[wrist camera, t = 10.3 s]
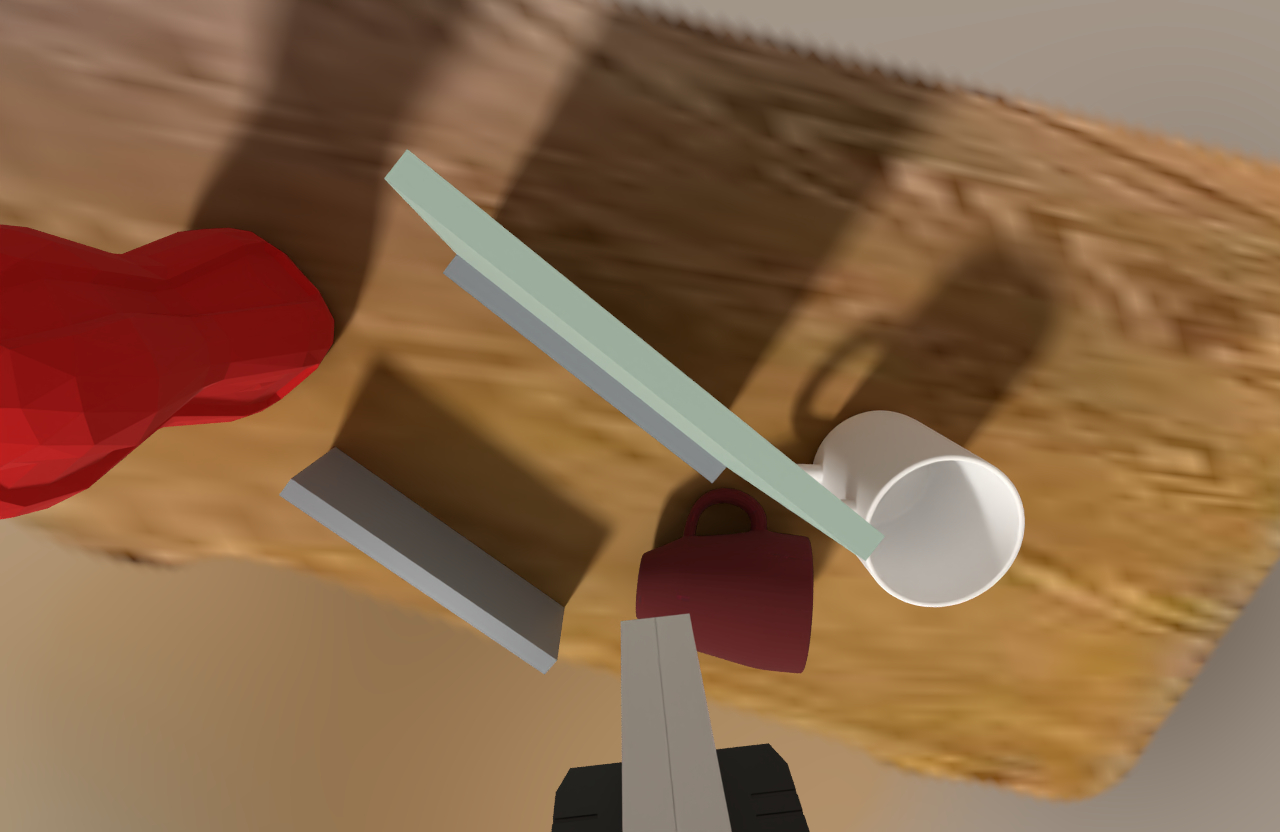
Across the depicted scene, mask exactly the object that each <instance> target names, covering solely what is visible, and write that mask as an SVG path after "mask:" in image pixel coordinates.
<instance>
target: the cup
mask: <svg viewBox="0 0 1280 832" xmlns="http://www.w3.org/2000/svg"><path fill="white" fill-rule="evenodd" d="M797 465H798V466H799V467H800V468H801V469H803V470H804V471H805V472H806V473H808V474H809V475H810V476H811V477H813V478H814V479H815V480H816V481H818V482H819V483H820V484H821V485H822V486H824V487H825V488H826V489H827V490H829V491H830V492H831V493H832V494H834V495H835V496H836V497H837V498H839V499H840V500H841V501H842V502H843V503H845V504H846V505H847V506H848V507H850V508H851V509H852V510H853V511H855V512H856V513H857V514H858V515H860V516H861V517H862V518H863V519H864V520H866V521H867V522H868V523H869V524H871V525H872V526H873V527H874V528H876V529H877V530H878V531H879V532H880V533H882V534H883V535H884V536H885V537H884V538H883V540H882V541H881V542H880V543H879V545H878V546H877V547H876V548H875V550H874V551H873V552H872V554H871V555H870V556H869V557H868V559H867V560H866V561H864V560H863V559H861V558H860V557H858V556H857V555H856V556H857V557H858V558H859V559H860V561H861V562H862V563H863V565H864V566H865V567H866V569H867V570H868V571H869V572H870V574H871V575H872V576H873V578H874V579H875V580H876V581H877V583H878V584H879V585H880V586H881V587H882V588H883V589H884V590H886V591H887V592H888V593H890V594H891V595H892V596H894V597H896V598H898V599H900V600H902V601H904V602H907V603H910V604H914V605H918V606H925V607H944V606H950V605H955V604H959V603H962V602H965V601H967V600H970V599H972V598H974V597H976V596H978V595H980V594H981V593H983V592H985V591H986V590H988V589H989V588H990V587H992V586H993V585H994V584H995V583H996V582H997V581H998V580H999V579H1000V578H1001V577H1002V576H1003V575H1004V574H1005V573H1006V572H1007V570H1008V569H1009V568H1010V566H1011V565H1012V563H1013V562H1014V560H1015V558H1016V556H1017V554H1018V551H1019V549H1020V546H1021V543H1022V540H1023V535H1024V527H1025V517H1024V509H1023V505H1022V501H1021V498H1020V496H1019V494H1018V491H1017V489H1016V488H1015V486H1014V485H1013V483H1012V482H1011V481H1010V479H1009V478H1008V477H1007V476H1006V475H1005V474H1004V473H1003V472H1002V471H1000V470H999V469H998V468H997V467H995V466H993V465H992V464H990V463H988V462H987V461H985V460H983V459H982V458H980V457H978V456H977V455H975V454H973V453H971V452H970V451H968V450H966V449H965V448H963V447H961V446H960V445H958V444H956V443H954V442H953V441H951V440H949V439H948V438H946V437H944V436H943V435H941V434H939V433H937V432H936V431H934V430H932V429H931V428H929V427H927V426H926V425H924V424H922V423H920V422H919V421H917V420H915V419H913V418H911V417H909V416H906V415H904V414H901V413H897V412H892V411H883V410H878V411H869V412H864V413H860V414H858V415H855V416H853V417H850V418H848V419H847V420H845V421H843V422H842V423H840V424H839V425H837V426H836V427H835V428H834V429H833V430H832V431H831V432H830V433H829V434H828V435H827V436H826V437H825V439H824V440H823V442H822V443H821V445H820V447H819V448H818V451H817V453H816V455H815V458H814V462H813V464H797Z"/></svg>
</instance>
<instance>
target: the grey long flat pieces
mask: <svg viewBox="0 0 1280 832" xmlns="http://www.w3.org/2000/svg"><path fill="white" fill-rule="evenodd" d="M443 274H445V275H446V276H447V277H449V278H450V279H451V280H452V281H454V282H455V283H456V284H458V285H459V286H460V287H461V288H463V289H464V290H465V291H467V292H468V293H469V294H470V295H472V296H473V297H474V298H476V299H477V300H478V301H479V302H481V303H482V304H483V305H484V306H486V307H487V308H488V309H490V310H491V311H492V312H493V313H495V314H496V315H497V316H499V317H500V318H501V319H502V320H504V321H505V322H506V323H508V324H509V325H510V326H511V327H513V328H514V329H515V330H517V331H518V332H519V333H520V334H522V335H523V336H524V337H526V338H527V339H528V340H529V341H531V342H532V343H533V344H534V345H536V346H537V347H538V348H540V349H541V350H542V351H543V352H545V353H546V354H547V355H549V356H550V357H551V358H552V359H554V360H555V361H556V362H558V363H559V364H560V365H561V366H563V367H564V368H565V369H567V370H568V371H569V372H570V373H572V374H573V375H574V376H576V377H577V378H578V379H579V380H581V381H582V382H583V383H584V384H586V385H587V386H588V387H590V388H591V389H592V390H593V391H595V392H596V393H597V394H599V395H600V396H601V397H602V398H604V399H605V400H606V401H608V402H609V403H610V404H611V405H613V406H614V407H615V408H617V409H618V410H619V411H620V412H622V413H623V414H624V415H626V416H627V417H628V418H629V419H631V420H632V421H633V422H634V423H636V424H637V425H638V426H640V427H641V428H642V429H643V430H645V431H646V432H647V433H649V434H650V435H651V436H652V437H654V438H655V439H656V440H658V441H659V442H660V443H661V444H663V445H664V446H665V447H667V448H668V449H669V450H670V451H672V452H673V453H674V454H676V455H677V456H678V457H679V458H681V459H682V460H683V461H684V462H686V463H687V464H688V465H690V466H691V467H692V468H693V469H695V470H696V471H697V472H699V473H700V474H701V475H702V476H704V477H705V478H706V479H708V480H709V481H710V482H711V483H713V482H714V481H715V480H716V478H717V477H718V476H719V475H720V474H721V473H722V472H723V471H724V469H725V468H726V466H725V465H723V464H722V463H721V462H720V461H718V460H717V459H716V458H714V457H713V456H712V455H711V454H709V453H708V452H707V451H706V450H704V449H703V448H702V447H701V446H699V445H698V444H697V443H695V442H694V441H693V440H692V439H690V438H689V437H688V436H687V435H685V434H684V433H683V432H682V431H680V430H679V429H678V428H676V427H675V426H674V425H673V424H671V423H670V422H669V421H668V420H666V419H665V418H664V417H663V416H661V415H660V414H659V413H657V412H656V411H655V410H654V409H652V408H651V407H650V406H649V405H647V404H646V403H645V402H644V401H642V400H641V399H640V398H638V397H637V396H636V395H635V394H633V393H632V392H631V391H630V390H628V389H627V388H626V387H625V386H623V385H622V384H621V383H619V382H618V381H617V380H616V379H614V378H613V377H612V376H611V375H609V374H608V373H607V372H606V371H604V370H603V369H602V368H600V367H599V366H598V365H597V364H595V363H594V362H593V361H592V360H590V359H589V358H588V357H587V356H585V355H584V354H583V353H581V352H580V351H579V350H578V349H576V348H575V347H574V346H573V345H571V344H570V343H569V342H568V341H566V340H565V339H564V338H562V337H561V336H560V335H559V334H557V333H556V332H555V331H554V330H552V329H551V328H550V327H549V326H547V325H546V324H545V323H543V322H542V321H541V320H540V319H538V318H537V317H536V316H535V315H533V314H532V313H531V312H530V311H528V310H527V309H526V308H524V307H523V306H522V305H521V304H519V303H518V302H517V301H516V300H514V299H513V298H512V297H511V296H509V295H508V294H507V293H505V292H504V291H503V290H502V289H500V288H499V287H498V286H497V285H495V284H494V283H493V282H492V281H490V280H489V279H488V278H486V277H485V276H484V275H483V274H481V273H480V272H479V271H478V270H476V269H475V268H474V267H473V266H471V265H470V264H469V263H467V262H466V261H465V260H464V259H462V258H461V257H460V256H459V255H456V256H455V257H454V259H453V260H452V261H451V263H450V264H449V265H448V267H447V268H446V270H445V271H444V272H443ZM280 496H281V497H283V498H284V499H286V500H287V501H289V502H290V503H291V504H293V505H294V506H296V507H297V508H299V509H300V510H302V511H303V512H305V513H306V514H308V515H309V516H311V517H312V518H314V519H315V520H317V521H318V522H320V523H321V524H323V525H324V526H326V527H327V528H328V529H330V530H331V531H333V532H334V533H336V534H337V535H339V536H340V537H342V538H343V539H345V540H346V541H348V542H349V543H351V544H352V545H354V546H355V547H357V548H358V549H360V550H361V551H363V552H364V553H365V554H367V555H368V556H370V557H371V558H373V559H374V560H376V561H377V562H379V563H380V564H382V565H383V566H385V567H386V568H388V569H389V570H391V571H392V572H394V573H395V574H397V575H398V576H400V577H401V578H403V579H404V580H405V581H407V582H408V583H410V584H411V585H413V586H414V587H416V588H417V589H419V590H420V591H422V592H423V593H425V594H426V595H428V596H429V597H431V598H432V599H434V600H435V601H437V602H438V603H440V604H441V605H442V606H444V607H445V608H447V609H448V610H450V611H451V612H453V613H454V614H456V615H457V616H459V617H460V618H462V619H463V620H465V621H466V622H468V623H469V624H471V625H472V626H474V627H475V628H477V629H478V630H480V631H481V632H482V633H484V634H485V635H487V636H488V637H490V638H491V639H493V640H494V641H496V642H497V643H499V644H500V645H502V646H503V647H505V648H506V649H508V650H509V651H511V652H512V653H514V654H515V655H517V656H518V657H519V658H521V659H522V660H524V661H525V662H527V663H528V664H530V665H531V666H533V667H534V668H536V669H537V670H539V671H540V672H542V673H543V674H545V673H546V672H547V671H548V670H549V669H550V668H551V667H552V665H553V664H554V663H555V662H556V661H557V657H558V650H559V643H560V636H561V629H562V622H563V615H564V607H563V606H561V605H560V604H559V603H557V602H556V601H554V600H553V599H551V598H550V597H549V596H547V595H546V594H544V593H543V592H541V591H540V590H539V589H537V588H536V587H534V586H533V585H531V584H530V583H529V582H527V581H526V580H524V579H523V578H521V577H520V576H519V575H517V574H516V573H514V572H513V571H511V570H510V569H509V568H507V567H506V566H504V565H503V564H501V563H500V562H499V561H497V560H496V559H494V558H493V557H492V556H490V555H489V554H487V553H486V552H484V551H483V550H482V549H480V548H479V547H477V546H476V545H474V544H473V543H472V542H470V541H469V540H467V539H466V538H464V537H463V536H462V535H460V534H459V533H457V532H456V531H454V530H453V529H452V528H450V527H449V526H447V525H446V524H444V523H443V522H442V521H440V520H439V519H437V518H436V517H434V516H433V515H432V514H430V513H429V512H427V511H426V510H425V509H423V508H422V507H420V506H419V505H417V504H416V503H415V502H413V501H412V500H410V499H409V498H407V497H406V496H405V495H403V494H402V493H400V492H399V491H397V490H396V489H395V488H393V487H392V486H390V485H389V484H387V483H386V482H385V481H383V480H382V479H380V478H379V477H377V476H376V475H375V474H373V473H372V472H370V471H369V470H368V469H366V468H365V467H363V466H362V465H360V464H359V463H358V462H356V461H355V460H353V459H352V458H350V457H349V456H348V455H346V454H345V453H343V452H342V451H340V450H339V449H338V448H336V447H334V448H333V449H332V450H330V451H329V452H327V453H326V454H325V455H323V456H322V457H320V458H319V459H318V460H316V461H315V462H314V463H312V464H311V465H309V466H308V467H307V468H305V469H304V470H303V471H301V472H300V473H298V474H297V475H296V476H294V477H293V478H291V480H290V481H289V482H288V484H287V485H286V486H285V488H284V489H283V491H282V492H281V493H280Z"/></svg>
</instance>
